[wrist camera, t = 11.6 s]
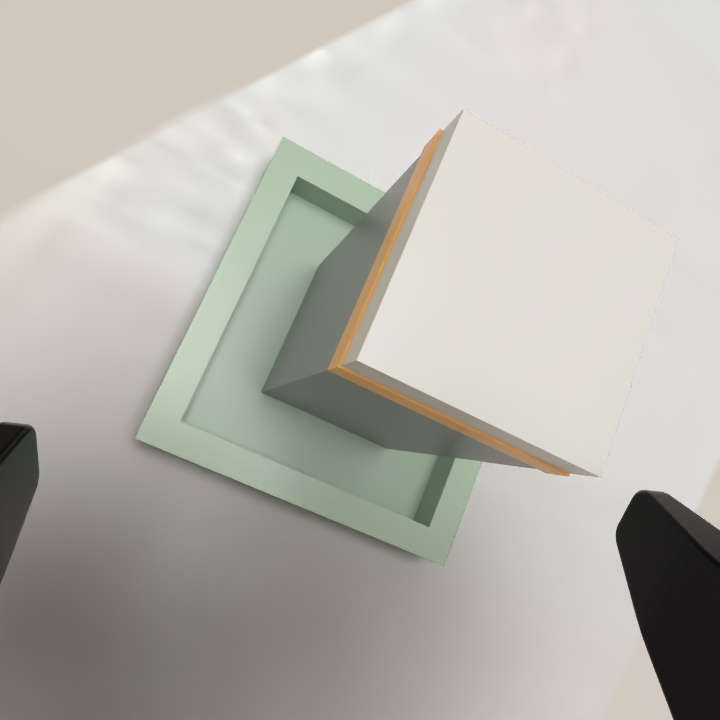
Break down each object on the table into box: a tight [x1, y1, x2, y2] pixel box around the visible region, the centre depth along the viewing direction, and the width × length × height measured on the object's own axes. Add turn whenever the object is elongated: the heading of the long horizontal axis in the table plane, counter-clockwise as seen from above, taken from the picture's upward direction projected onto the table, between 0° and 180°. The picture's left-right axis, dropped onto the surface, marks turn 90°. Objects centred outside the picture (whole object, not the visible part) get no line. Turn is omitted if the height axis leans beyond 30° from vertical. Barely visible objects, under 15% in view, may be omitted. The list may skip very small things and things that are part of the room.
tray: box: [135, 137, 482, 566], centre depth 22 cm, size 11×11×2 cm
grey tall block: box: [261, 108, 679, 477], centre depth 17 cm, size 5×5×12 cm
